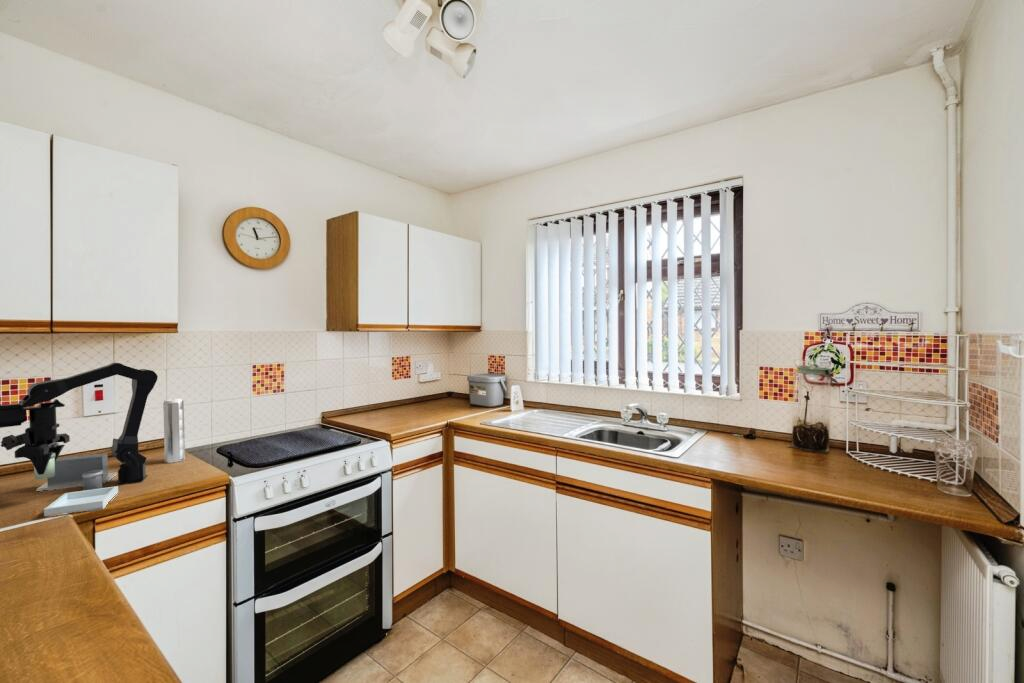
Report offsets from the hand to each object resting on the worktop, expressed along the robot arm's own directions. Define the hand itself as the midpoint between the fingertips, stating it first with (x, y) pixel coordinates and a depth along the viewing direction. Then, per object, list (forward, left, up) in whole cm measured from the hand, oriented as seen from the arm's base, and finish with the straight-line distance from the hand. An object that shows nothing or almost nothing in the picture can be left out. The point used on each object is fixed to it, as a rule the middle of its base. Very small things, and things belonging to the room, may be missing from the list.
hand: (44, 472), depth 136 cm
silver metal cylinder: (-27, -31, -9) cm, 42 cm away
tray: (-12, +11, -9) cm, 19 cm away
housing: (-3, -15, -9) cm, 18 cm away
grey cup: (-11, 0, -9) cm, 14 cm away
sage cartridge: (0, 0, -2) cm, 2 cm away
